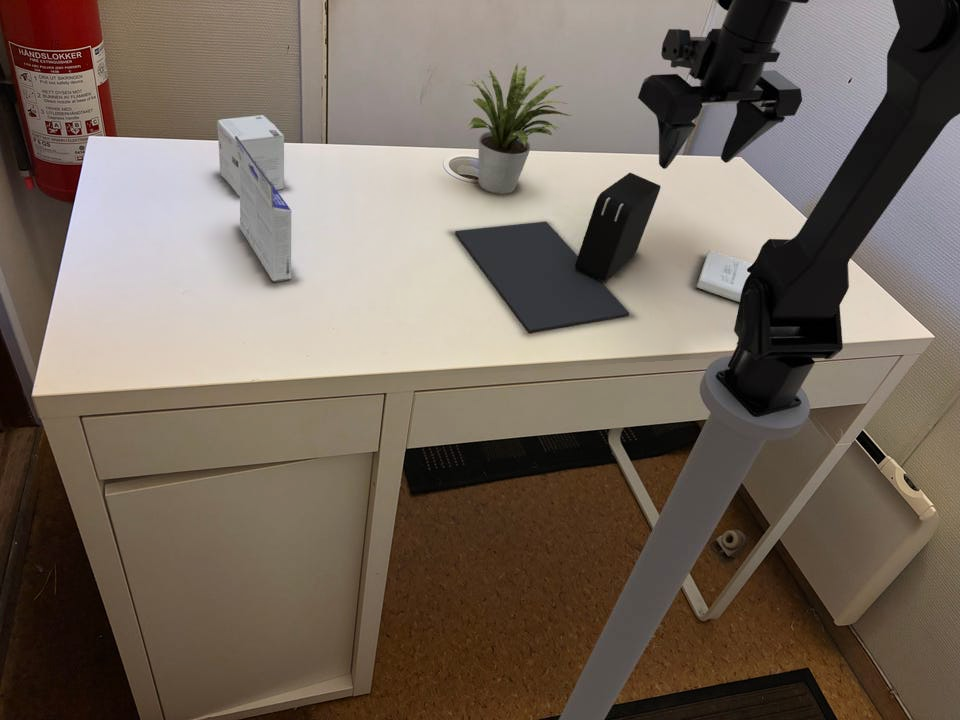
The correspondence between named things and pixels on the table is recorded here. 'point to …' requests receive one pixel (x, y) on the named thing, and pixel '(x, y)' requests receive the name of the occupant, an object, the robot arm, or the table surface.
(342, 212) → the table surface
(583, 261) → the electronic device
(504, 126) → the house plant
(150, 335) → the table surface
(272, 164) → the white cardboard box
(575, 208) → the table surface
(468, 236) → the mat
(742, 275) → the hard drive
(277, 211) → the ink box
